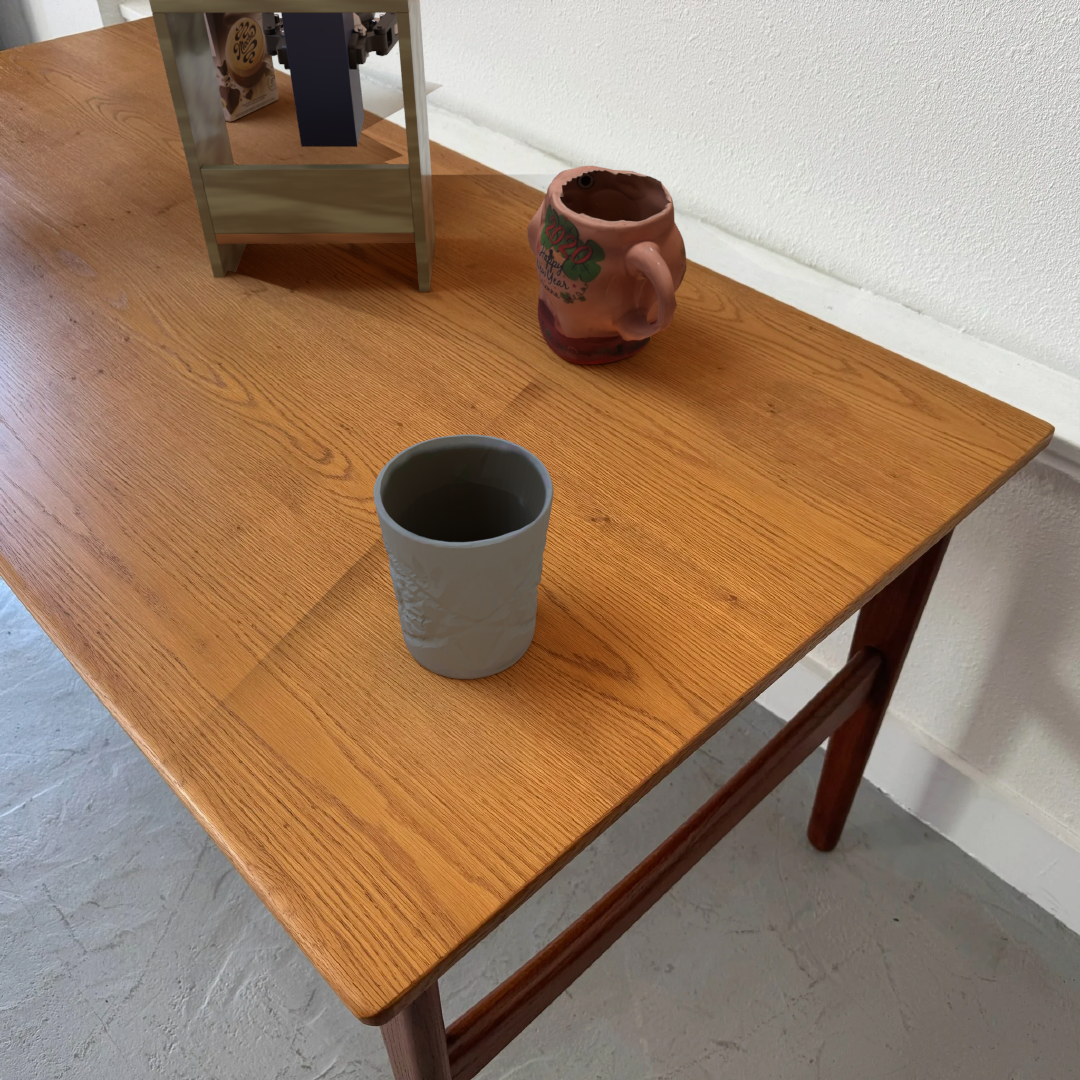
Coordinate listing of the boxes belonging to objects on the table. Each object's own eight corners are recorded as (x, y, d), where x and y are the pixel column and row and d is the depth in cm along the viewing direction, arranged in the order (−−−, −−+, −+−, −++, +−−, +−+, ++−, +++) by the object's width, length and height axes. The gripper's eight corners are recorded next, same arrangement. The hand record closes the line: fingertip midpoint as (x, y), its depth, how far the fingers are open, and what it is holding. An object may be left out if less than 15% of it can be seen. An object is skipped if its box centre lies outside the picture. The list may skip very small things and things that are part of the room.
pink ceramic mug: (730, 382, 87) (755, 228, 77) (608, 426, 82) (619, 268, 73) (602, 279, 99) (609, 135, 90) (490, 311, 95) (486, 164, 85)
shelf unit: (239, 238, 105) (181, -41, 87) (435, 237, 105) (416, -41, 88) (217, 293, 97) (148, -1, 80) (429, 291, 97) (407, -1, 80)
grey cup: (361, 645, 65) (336, 503, 57) (452, 551, 72) (442, 411, 64) (494, 713, 62) (488, 572, 53) (578, 608, 68) (585, 467, 60)
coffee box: (232, 123, 127) (204, -22, 115) (193, 112, 129) (162, -30, 118) (281, 99, 132) (258, -41, 121) (243, 89, 135) (217, -49, 124)
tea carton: (301, 146, 101) (277, -9, 92) (311, 118, 106) (289, -32, 97) (357, 146, 101) (339, -9, 92) (364, 118, 106) (348, -31, 97)
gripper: (411, 40, 111) (399, 99, 99) (277, 40, 111) (249, 99, 99) (405, -37, 106) (392, 16, 94) (265, -37, 106) (234, 15, 94)
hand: (319, 58), depth 96 cm, fingers closed on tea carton, 5 cm apart
